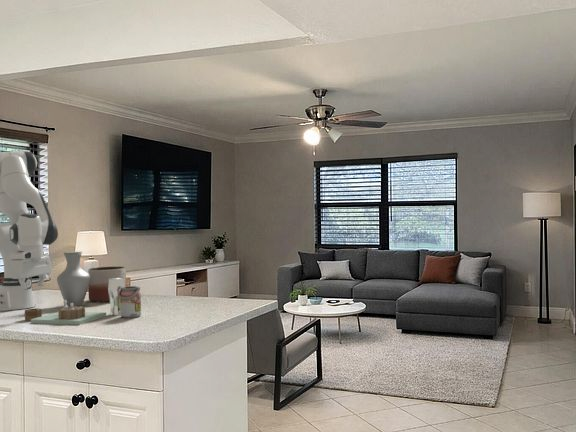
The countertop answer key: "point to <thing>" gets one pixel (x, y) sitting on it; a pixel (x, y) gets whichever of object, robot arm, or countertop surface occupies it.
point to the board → (69, 316)
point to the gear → (32, 314)
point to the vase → (73, 280)
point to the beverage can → (130, 301)
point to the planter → (103, 281)
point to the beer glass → (115, 294)
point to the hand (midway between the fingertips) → (32, 287)
